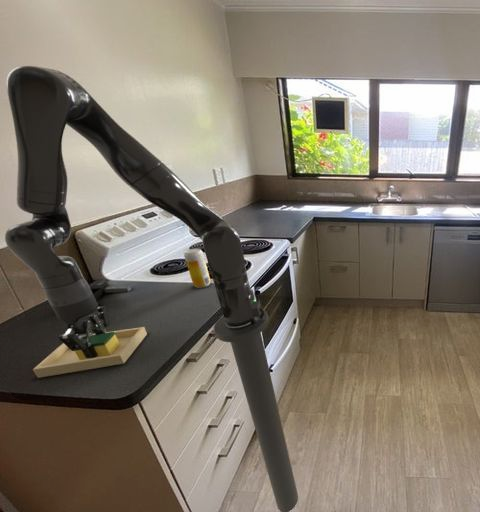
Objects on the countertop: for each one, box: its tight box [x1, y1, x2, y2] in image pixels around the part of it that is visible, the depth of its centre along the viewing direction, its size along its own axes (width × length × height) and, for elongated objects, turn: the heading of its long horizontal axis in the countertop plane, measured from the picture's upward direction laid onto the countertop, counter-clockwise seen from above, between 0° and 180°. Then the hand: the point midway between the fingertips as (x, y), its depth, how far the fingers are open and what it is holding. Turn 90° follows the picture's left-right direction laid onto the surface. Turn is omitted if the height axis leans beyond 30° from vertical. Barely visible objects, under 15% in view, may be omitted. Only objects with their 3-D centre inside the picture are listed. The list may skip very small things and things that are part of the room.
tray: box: [32, 326, 148, 379], centre depth 79 cm, size 19×13×3 cm
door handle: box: [88, 278, 132, 305], centre depth 108 cm, size 3×20×16 cm
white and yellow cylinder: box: [183, 247, 212, 289], centre depth 113 cm, size 6×6×15 cm
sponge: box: [75, 331, 120, 360], centre depth 78 cm, size 7×5×4 cm, turn 104°
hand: (98, 350), depth 79 cm, fingers closed on sponge, 4 cm apart
